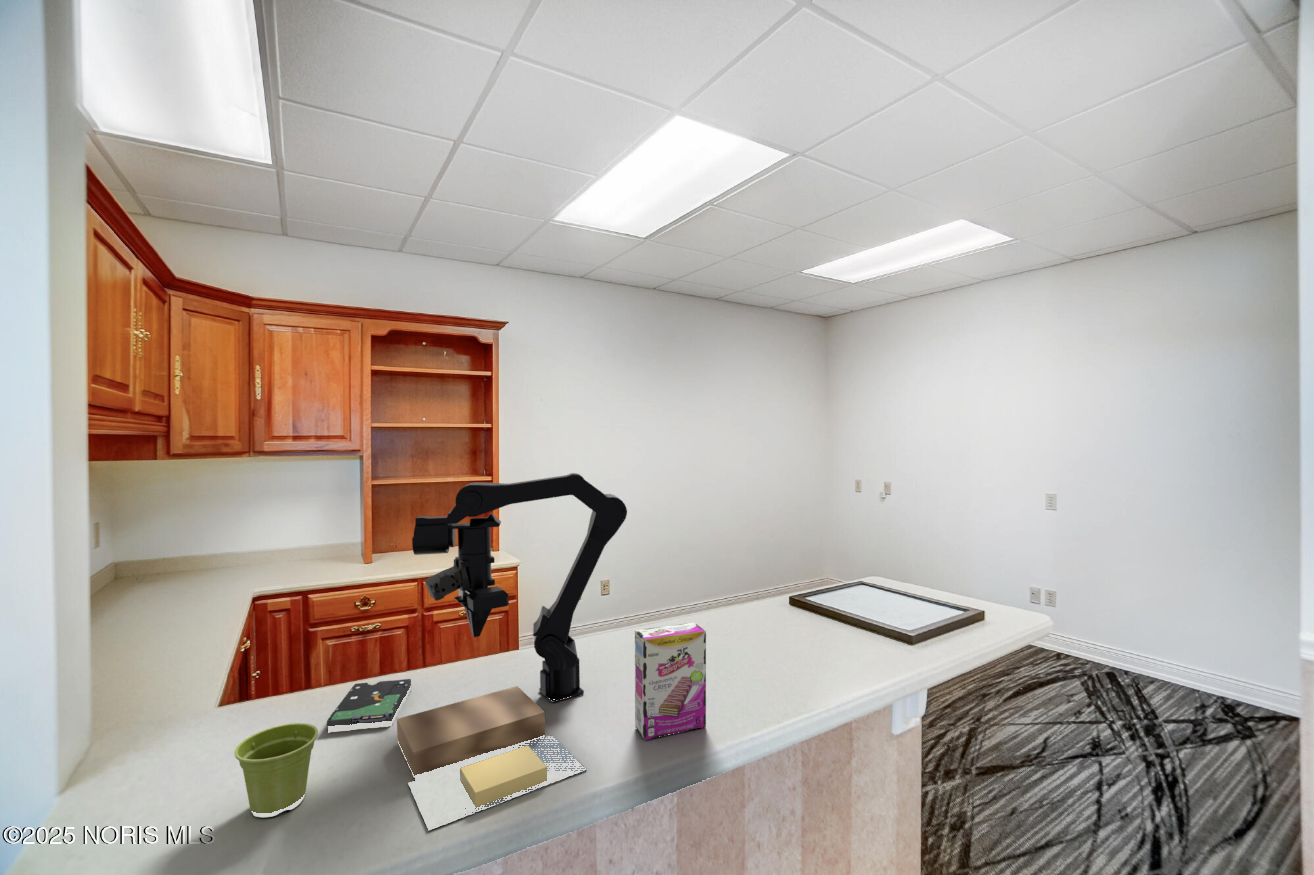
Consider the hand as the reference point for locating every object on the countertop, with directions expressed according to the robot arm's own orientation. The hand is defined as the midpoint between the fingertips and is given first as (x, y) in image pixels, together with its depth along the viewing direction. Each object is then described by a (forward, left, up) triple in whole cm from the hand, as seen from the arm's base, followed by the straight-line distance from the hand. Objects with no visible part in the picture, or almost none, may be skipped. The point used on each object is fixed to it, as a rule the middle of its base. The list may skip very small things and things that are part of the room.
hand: (476, 636), depth 107 cm
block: (+5, +27, -10) cm, 29 cm away
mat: (+5, +26, -12) cm, 29 cm away
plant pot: (+31, +14, -12) cm, 36 cm away
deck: (+5, +13, -12) cm, 18 cm away
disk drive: (+16, -8, -13) cm, 22 cm away
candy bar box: (-23, +29, -12) cm, 39 cm away
